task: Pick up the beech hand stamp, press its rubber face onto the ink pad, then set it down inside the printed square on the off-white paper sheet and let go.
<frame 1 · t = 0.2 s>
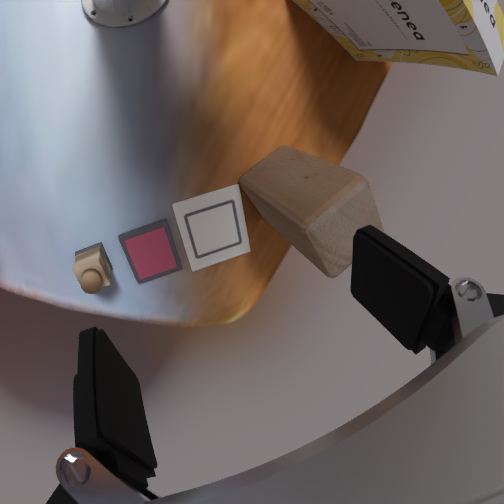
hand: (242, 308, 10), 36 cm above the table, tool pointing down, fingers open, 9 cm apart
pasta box: (336, 10, 37), on the table
paper sheet: (213, 229, 50), on the table
ink pad: (150, 250, 47), on the table
stamp: (93, 259, 44), on the table
wooden block: (273, 182, 50), on the table, touching paper sheet
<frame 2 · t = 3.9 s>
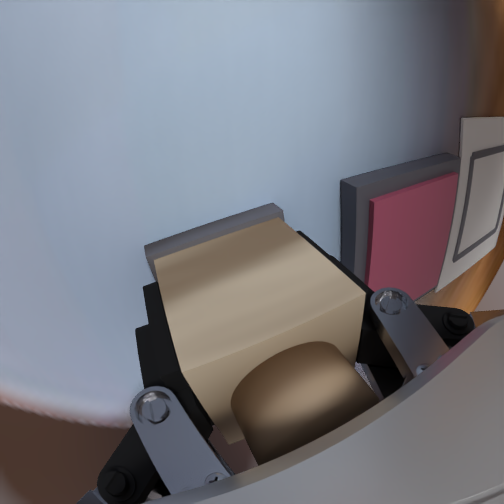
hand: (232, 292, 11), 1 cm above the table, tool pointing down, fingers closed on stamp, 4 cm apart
paper sheet: (485, 198, 18), on the table
ink pad: (398, 242, 15), on the table
stamp: (224, 277, 12), on the table, touching gripper
when the fingers open (1 cm above the table, at t = 13.3 s): stamp stays where it is, resting on paper sheet.
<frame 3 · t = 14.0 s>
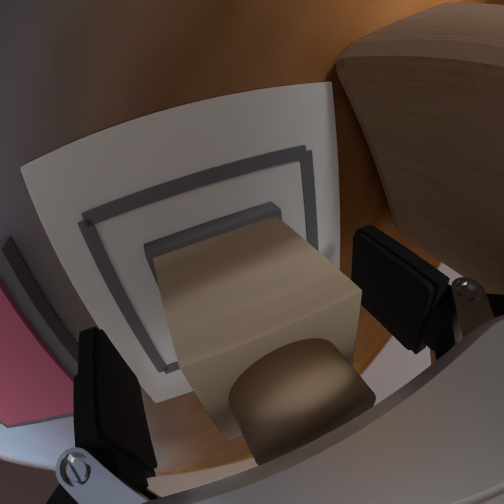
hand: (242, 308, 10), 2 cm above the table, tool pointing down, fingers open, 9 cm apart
paper sheet: (221, 273, 12), on the table
ink pad: (2, 351, 9), on the table
stamp: (222, 275, 12), resting on paper sheet
wooden block: (422, 109, 12), on the table, touching paper sheet
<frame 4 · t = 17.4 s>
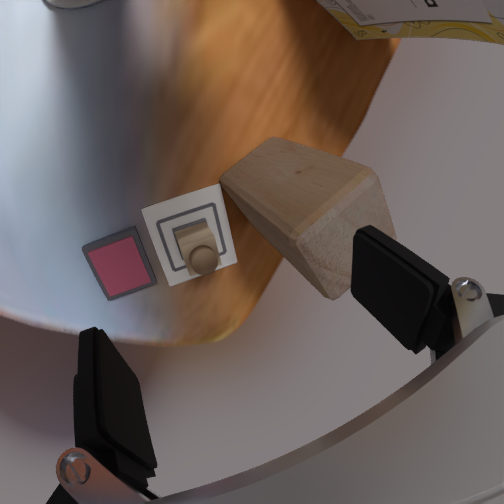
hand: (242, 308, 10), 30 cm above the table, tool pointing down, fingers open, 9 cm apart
paper sheet: (192, 237, 42), on the table
ink pad: (120, 263, 39), on the table
stamp: (192, 238, 42), resting on paper sheet
wooden block: (261, 181, 42), on the table, touching paper sheet
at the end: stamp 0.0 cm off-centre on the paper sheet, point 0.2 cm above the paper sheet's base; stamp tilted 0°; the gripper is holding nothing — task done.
